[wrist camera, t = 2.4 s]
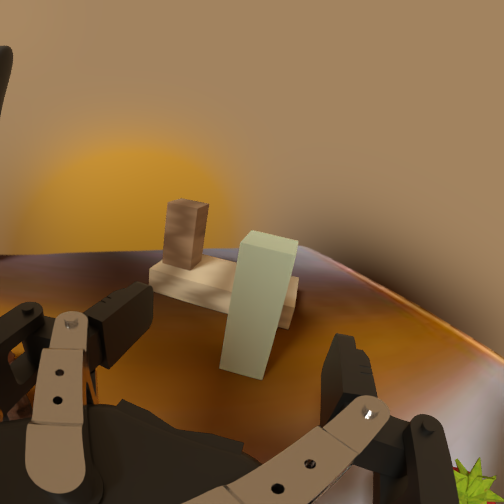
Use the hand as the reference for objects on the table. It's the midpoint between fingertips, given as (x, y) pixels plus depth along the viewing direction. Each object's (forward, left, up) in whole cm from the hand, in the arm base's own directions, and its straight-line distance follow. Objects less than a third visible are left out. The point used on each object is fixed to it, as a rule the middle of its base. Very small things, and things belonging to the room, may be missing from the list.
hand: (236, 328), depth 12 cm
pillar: (0, +11, -11) cm, 16 cm away
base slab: (-6, +23, -11) cm, 27 cm away
